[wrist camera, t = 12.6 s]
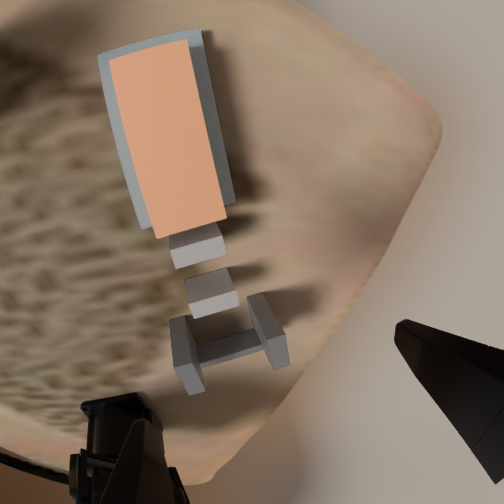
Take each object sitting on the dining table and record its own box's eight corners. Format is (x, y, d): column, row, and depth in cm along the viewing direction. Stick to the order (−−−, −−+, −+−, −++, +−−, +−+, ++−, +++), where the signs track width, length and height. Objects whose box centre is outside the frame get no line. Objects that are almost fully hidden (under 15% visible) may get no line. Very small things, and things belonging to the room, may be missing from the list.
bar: (157, 226, 18) (156, 239, 16) (115, 66, 13) (108, 60, 11) (220, 207, 18) (226, 218, 17) (184, 47, 14) (186, 38, 12)
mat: (142, 225, 18) (141, 229, 18) (99, 57, 13) (96, 54, 13) (233, 199, 19) (236, 202, 19) (198, 31, 14) (200, 27, 14)
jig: (185, 354, 23) (192, 402, 19) (138, 240, 19) (131, 278, 14) (269, 329, 25) (291, 371, 20) (245, 209, 20) (269, 238, 15)
